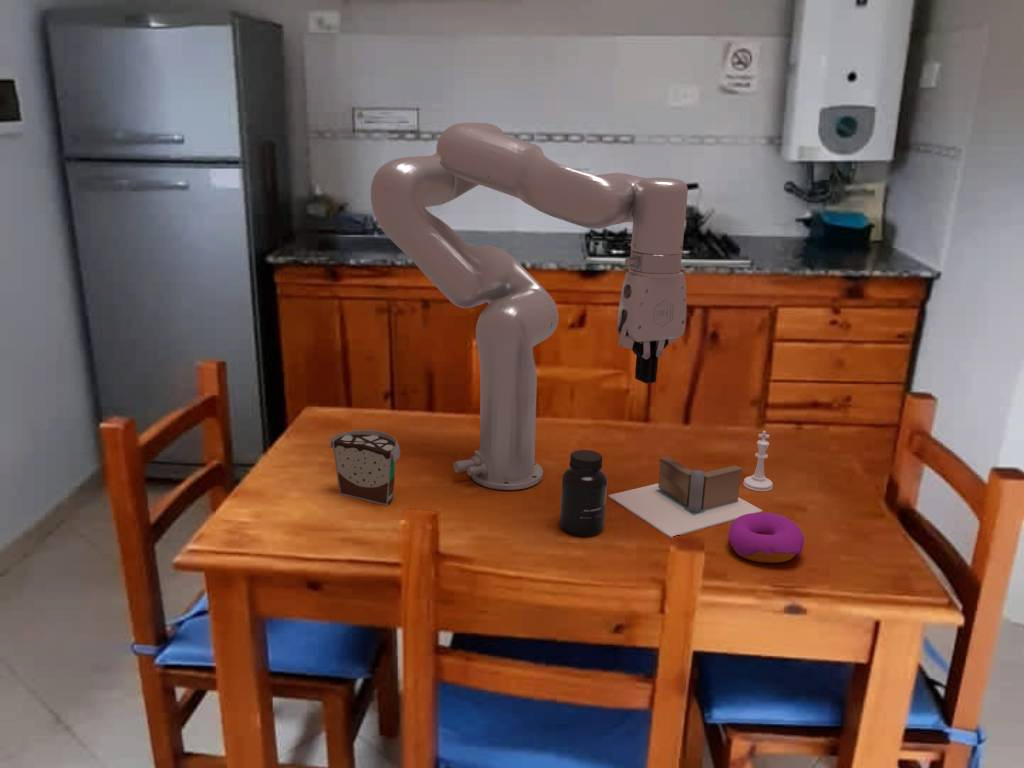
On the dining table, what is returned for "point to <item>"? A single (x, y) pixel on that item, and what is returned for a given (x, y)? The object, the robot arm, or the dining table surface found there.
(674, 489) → the fence panel
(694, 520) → the fence base
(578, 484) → the supplement bottle
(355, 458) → the food container
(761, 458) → the chess piece
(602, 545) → the dining table surface
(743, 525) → the donut
